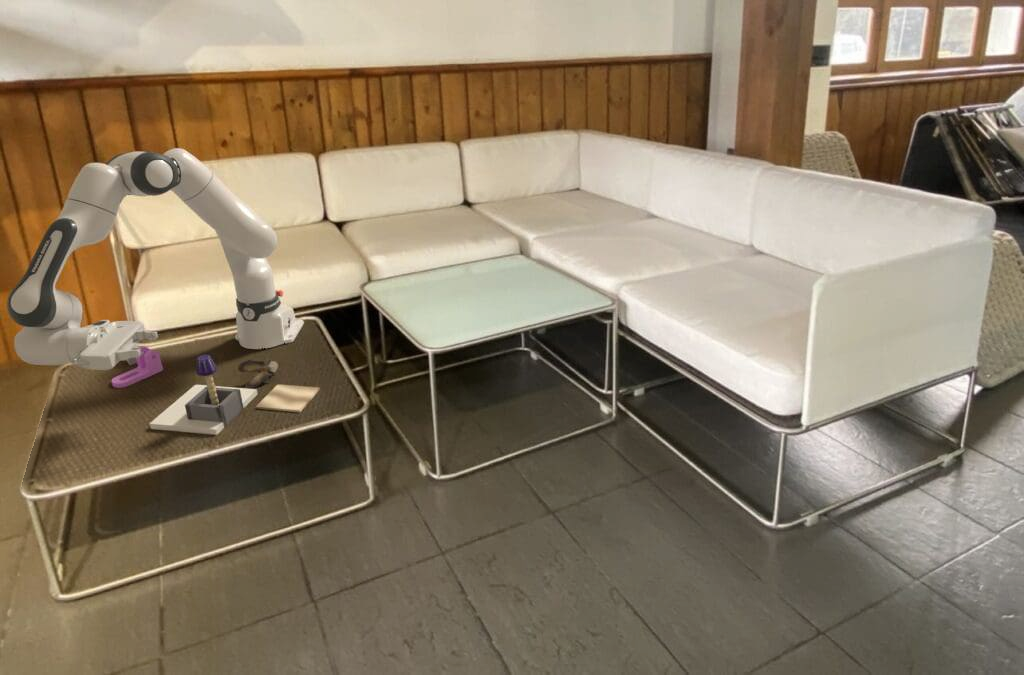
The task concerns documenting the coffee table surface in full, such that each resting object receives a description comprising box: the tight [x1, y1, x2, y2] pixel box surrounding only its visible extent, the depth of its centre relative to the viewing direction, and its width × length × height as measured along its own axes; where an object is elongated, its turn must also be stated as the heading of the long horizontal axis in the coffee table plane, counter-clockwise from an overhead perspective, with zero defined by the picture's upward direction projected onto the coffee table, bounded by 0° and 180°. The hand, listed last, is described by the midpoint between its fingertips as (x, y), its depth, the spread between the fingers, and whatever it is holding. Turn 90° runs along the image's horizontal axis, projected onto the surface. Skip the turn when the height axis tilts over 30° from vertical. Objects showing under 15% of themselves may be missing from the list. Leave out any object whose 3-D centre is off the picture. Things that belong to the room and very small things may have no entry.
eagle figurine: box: [237, 356, 279, 389], centre depth 203 cm, size 8×7×9 cm
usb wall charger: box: [125, 344, 139, 366], centre depth 217 cm, size 4×7×4 cm, turn 39°
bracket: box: [111, 345, 164, 389], centre depth 206 cm, size 13×6×7 cm, turn 148°
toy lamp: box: [196, 354, 219, 405], centre depth 184 cm, size 5×5×17 cm
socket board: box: [149, 384, 258, 436], centre depth 188 cm, size 20×18×6 cm
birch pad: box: [255, 384, 320, 413], centre depth 194 cm, size 12×12×1 cm
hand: (148, 344), depth 178 cm, fingers open, 8 cm apart
